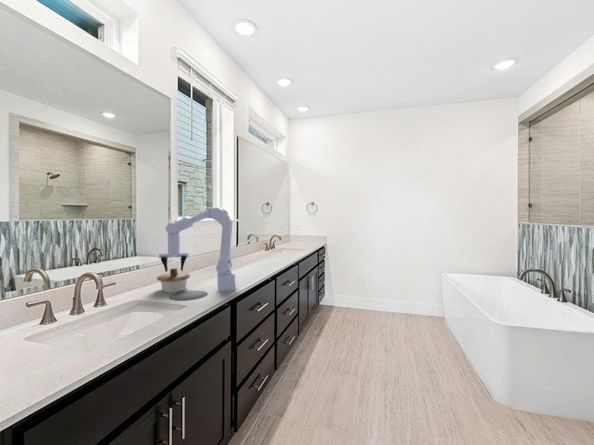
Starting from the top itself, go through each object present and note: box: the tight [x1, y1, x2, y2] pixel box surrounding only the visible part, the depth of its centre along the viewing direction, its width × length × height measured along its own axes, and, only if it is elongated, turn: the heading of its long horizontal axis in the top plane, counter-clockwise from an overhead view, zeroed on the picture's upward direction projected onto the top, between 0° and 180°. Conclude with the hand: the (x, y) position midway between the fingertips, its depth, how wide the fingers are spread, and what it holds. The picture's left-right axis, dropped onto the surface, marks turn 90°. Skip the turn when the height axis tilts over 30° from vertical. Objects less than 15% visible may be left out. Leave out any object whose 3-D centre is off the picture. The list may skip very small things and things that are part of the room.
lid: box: [156, 267, 191, 282], centre depth 151 cm, size 16×16×5 cm
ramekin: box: [160, 278, 188, 293], centre depth 152 cm, size 13×13×7 cm
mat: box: [168, 290, 209, 302], centre depth 140 cm, size 18×18×1 cm
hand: (174, 270), depth 152 cm, fingers open, 7 cm apart
